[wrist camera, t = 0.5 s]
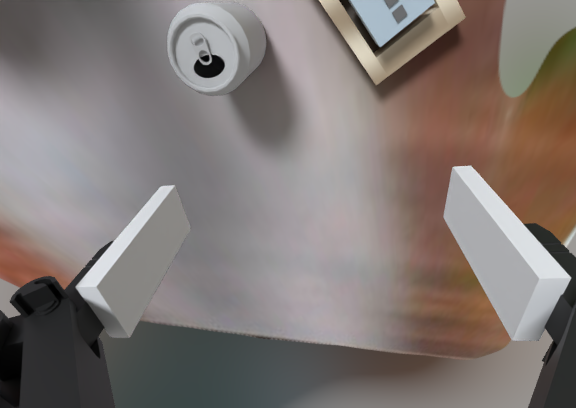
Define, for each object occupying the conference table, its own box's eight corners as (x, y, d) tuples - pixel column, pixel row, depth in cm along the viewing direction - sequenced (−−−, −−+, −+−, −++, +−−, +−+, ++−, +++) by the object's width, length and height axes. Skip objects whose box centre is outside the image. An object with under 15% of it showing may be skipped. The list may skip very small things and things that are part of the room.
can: (218, 81, 39) (181, 109, 29) (193, 13, 35) (141, 18, 25) (275, 65, 37) (257, 89, 27) (256, -8, 34) (227, -11, 24)
